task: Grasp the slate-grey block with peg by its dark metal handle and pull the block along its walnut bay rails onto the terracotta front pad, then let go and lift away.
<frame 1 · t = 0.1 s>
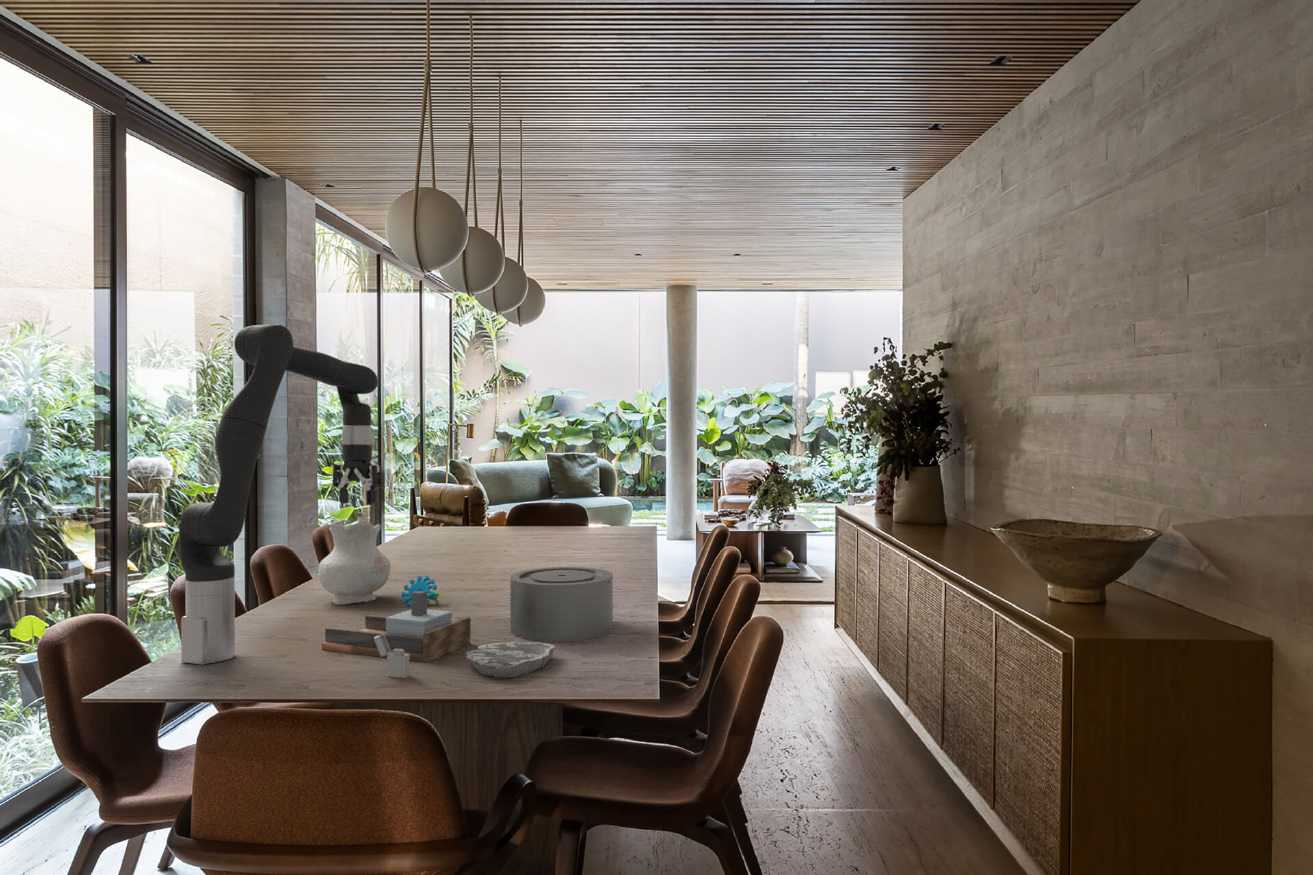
hand: (357, 503, 215), 29 cm above the table, fingers open, 8 cm apart
ceramic pitcher: (355, 599, 234), on the table
grey flat stone: (507, 668, 168), on the table
container: (561, 630, 199), on the table
block with peg: (419, 616, 181), point 7 cm above the table, slide at 0.0 cm
crate bay: (397, 646, 183), on the table
gear: (420, 605, 227), on the table
lighter: (391, 676, 161), on the table
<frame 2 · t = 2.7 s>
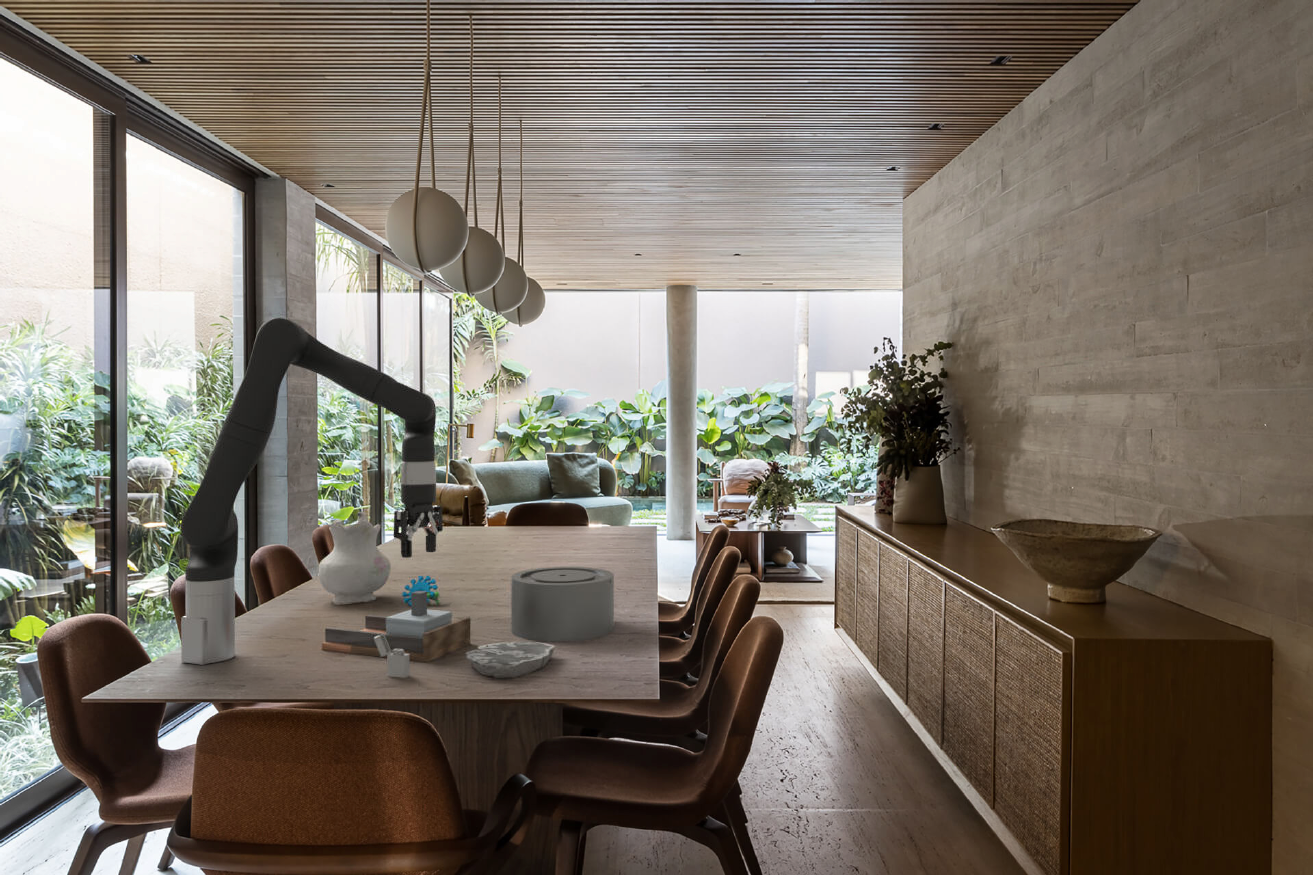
hand: (419, 554, 180), 21 cm above the table, fingers open, 8 cm apart
nothing on the table moved.
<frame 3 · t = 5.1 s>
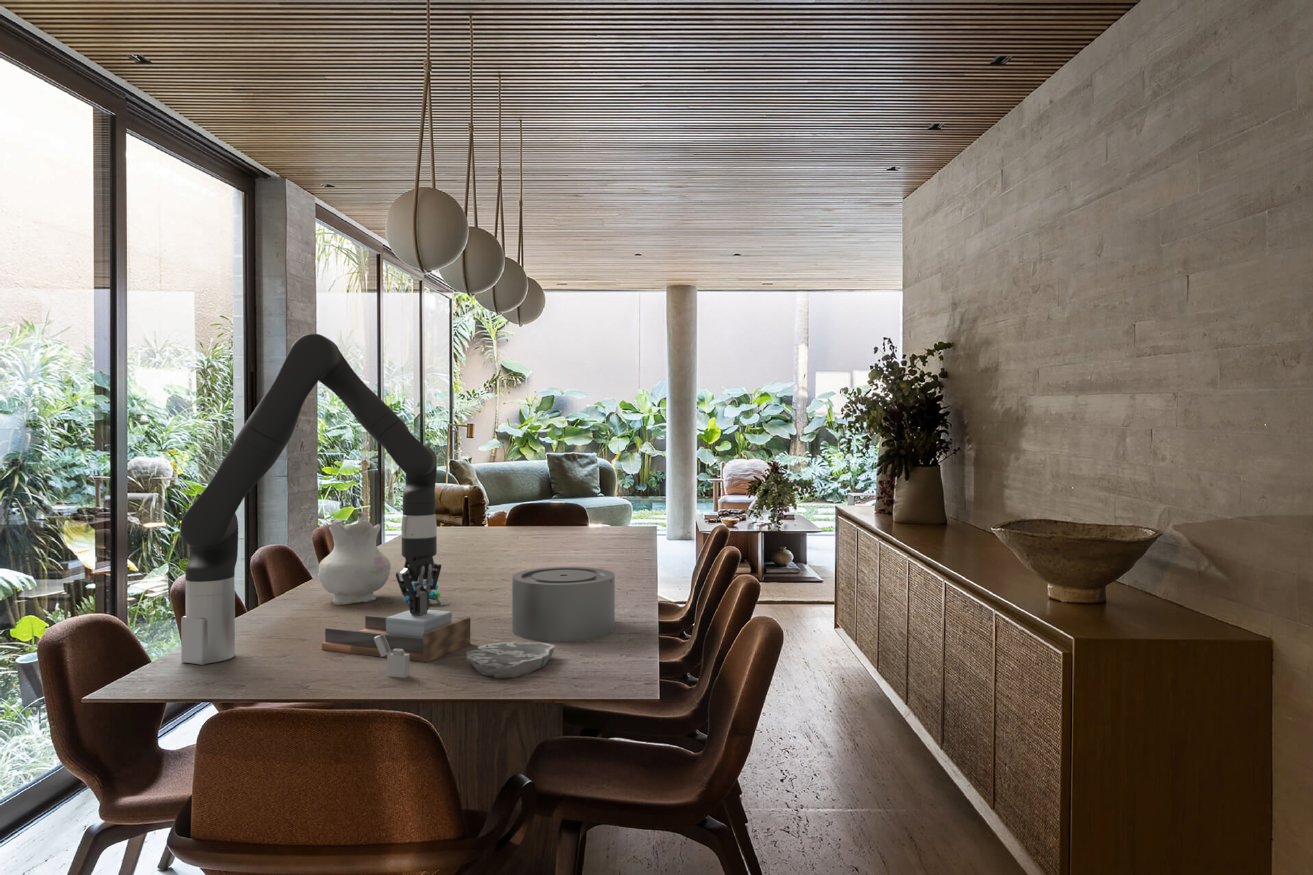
hand: (419, 611, 181), 8 cm above the table, fingers closed on block with peg, 2 cm apart
block with peg: (419, 616, 181), point 7 cm above the table, slide at 0.0 cm, touching gripper
everything else where it was.
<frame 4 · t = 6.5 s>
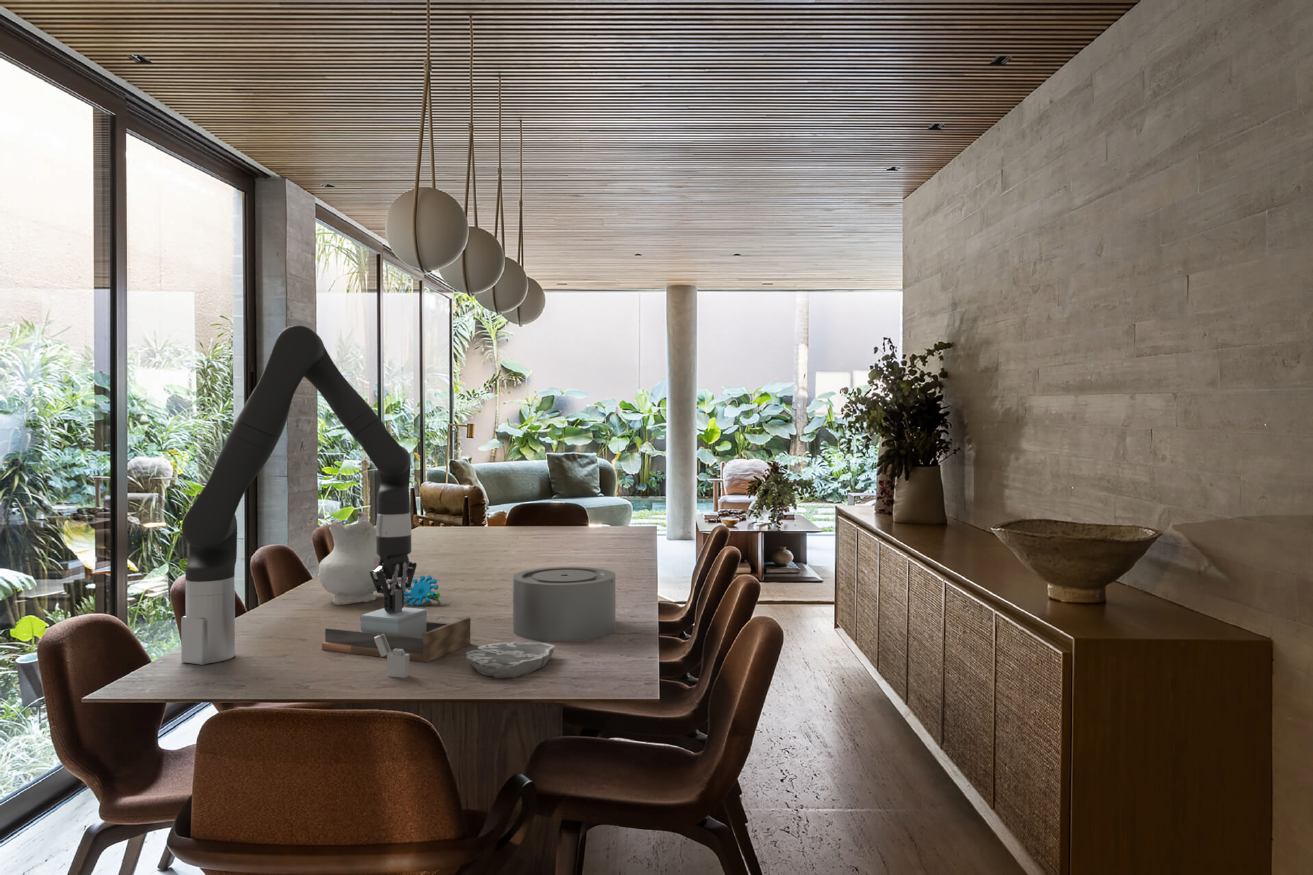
hand: (394, 609, 183), 8 cm above the table, fingers closed on block with peg, 2 cm apart
block with peg: (394, 614, 183), point 7 cm above the table, slide at 6.8 cm, touching gripper
everything else where it was.
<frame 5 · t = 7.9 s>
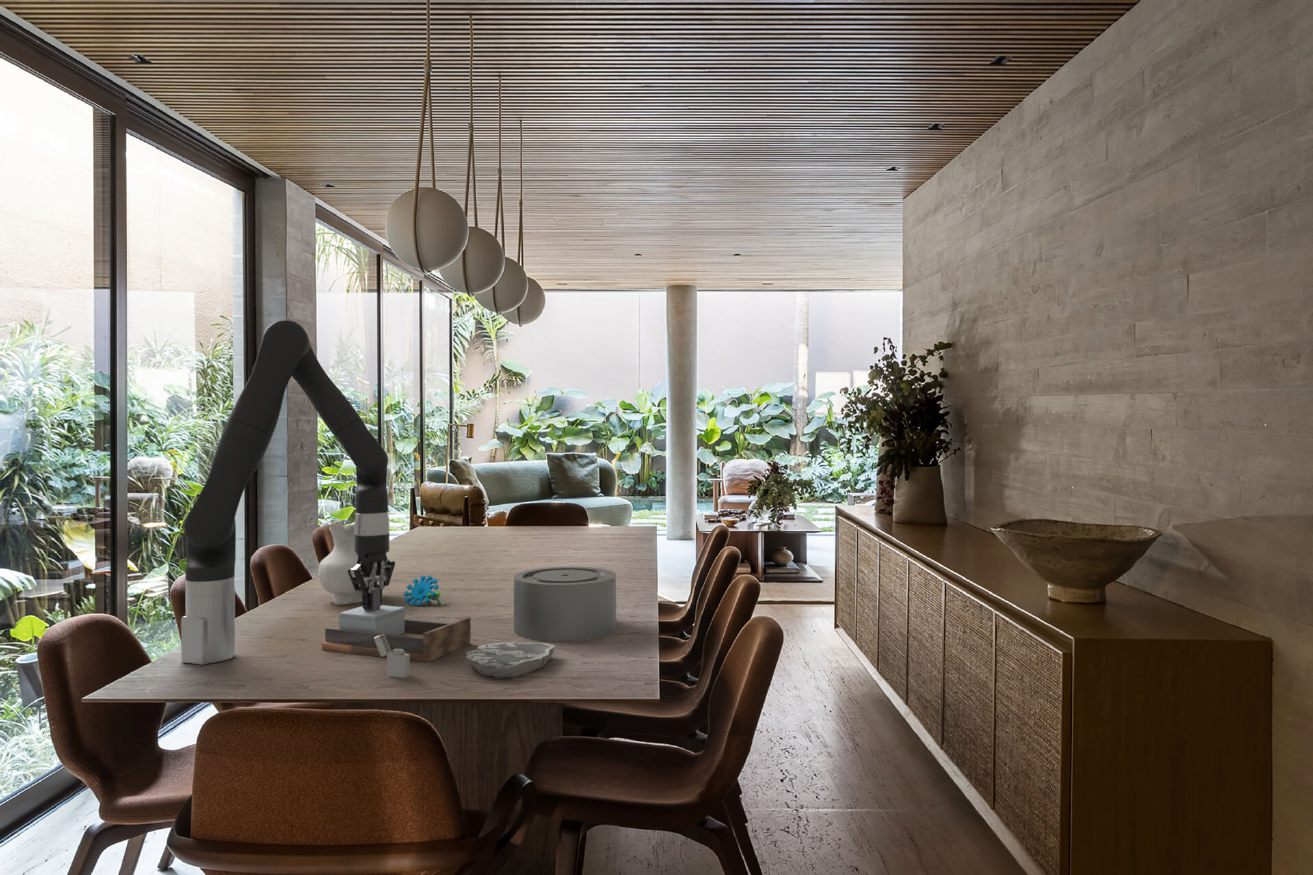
hand: (372, 607, 185), 8 cm above the table, fingers closed on block with peg, 2 cm apart
block with peg: (372, 612, 185), point 7 cm above the table, slide at 12.9 cm, touching gripper
everything else where it was.
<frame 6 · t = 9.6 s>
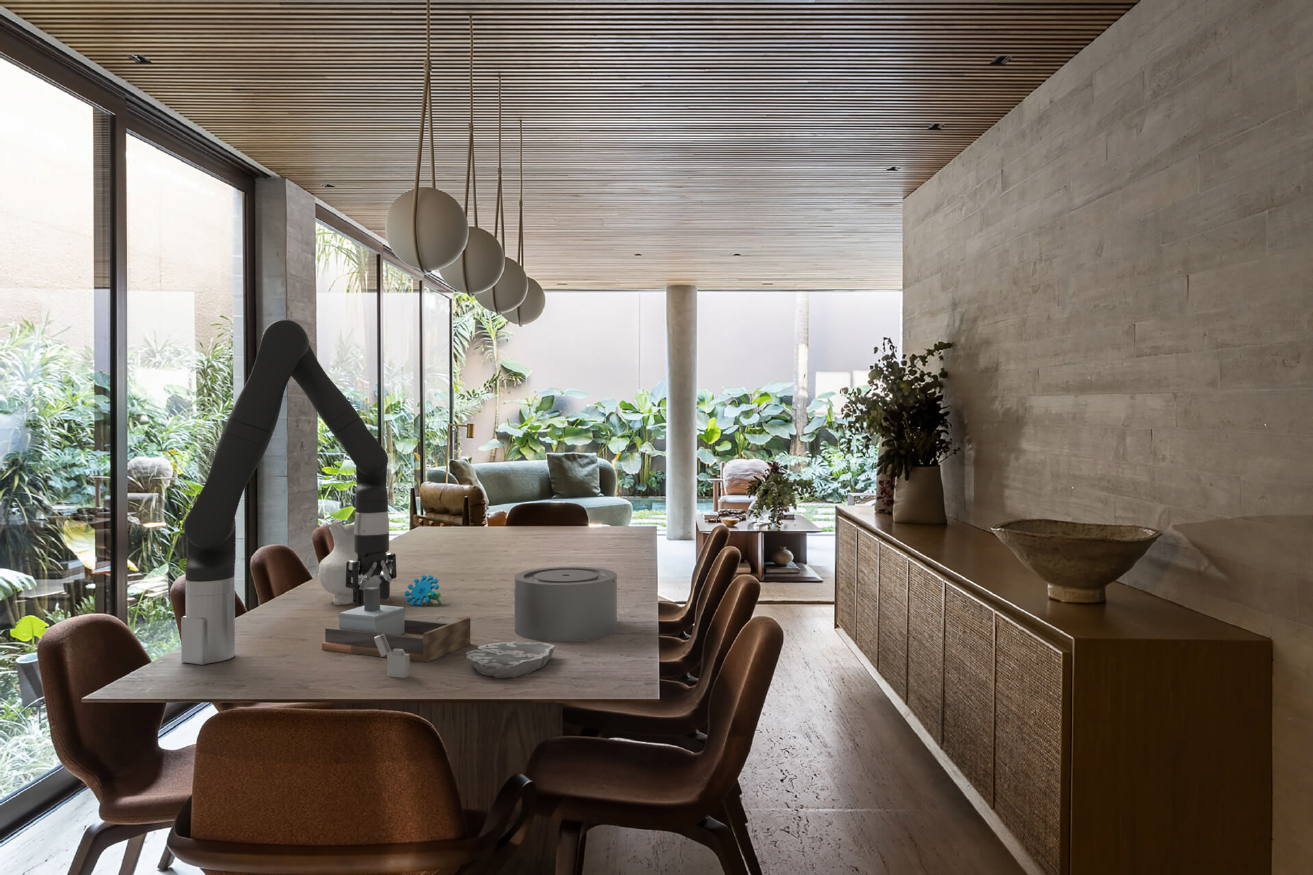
hand: (371, 602, 185), 9 cm above the table, fingers open, 8 cm apart
block with peg: (372, 612, 185), point 7 cm above the table, slide at 12.9 cm
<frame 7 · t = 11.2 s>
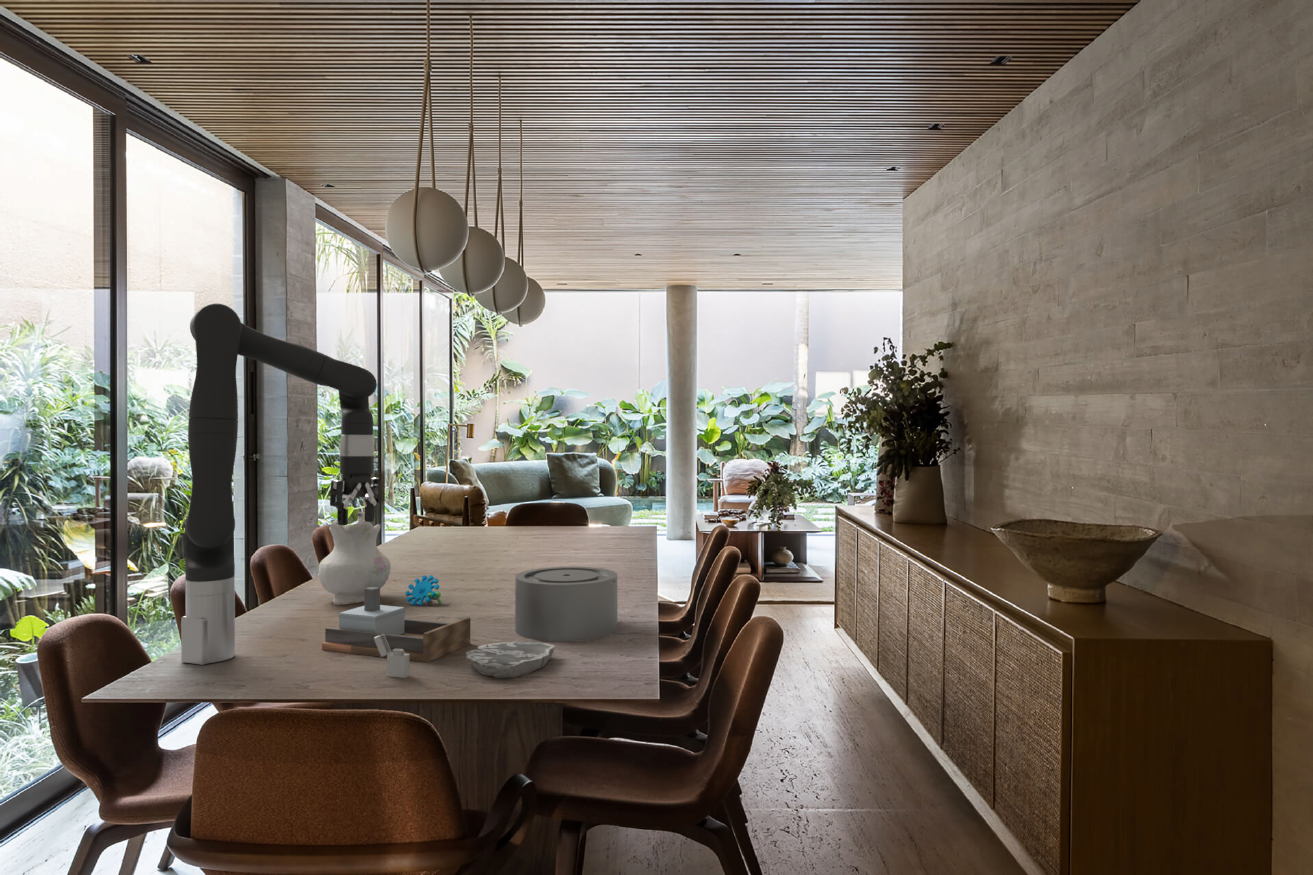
hand: (356, 523, 190), 27 cm above the table, fingers open, 8 cm apart
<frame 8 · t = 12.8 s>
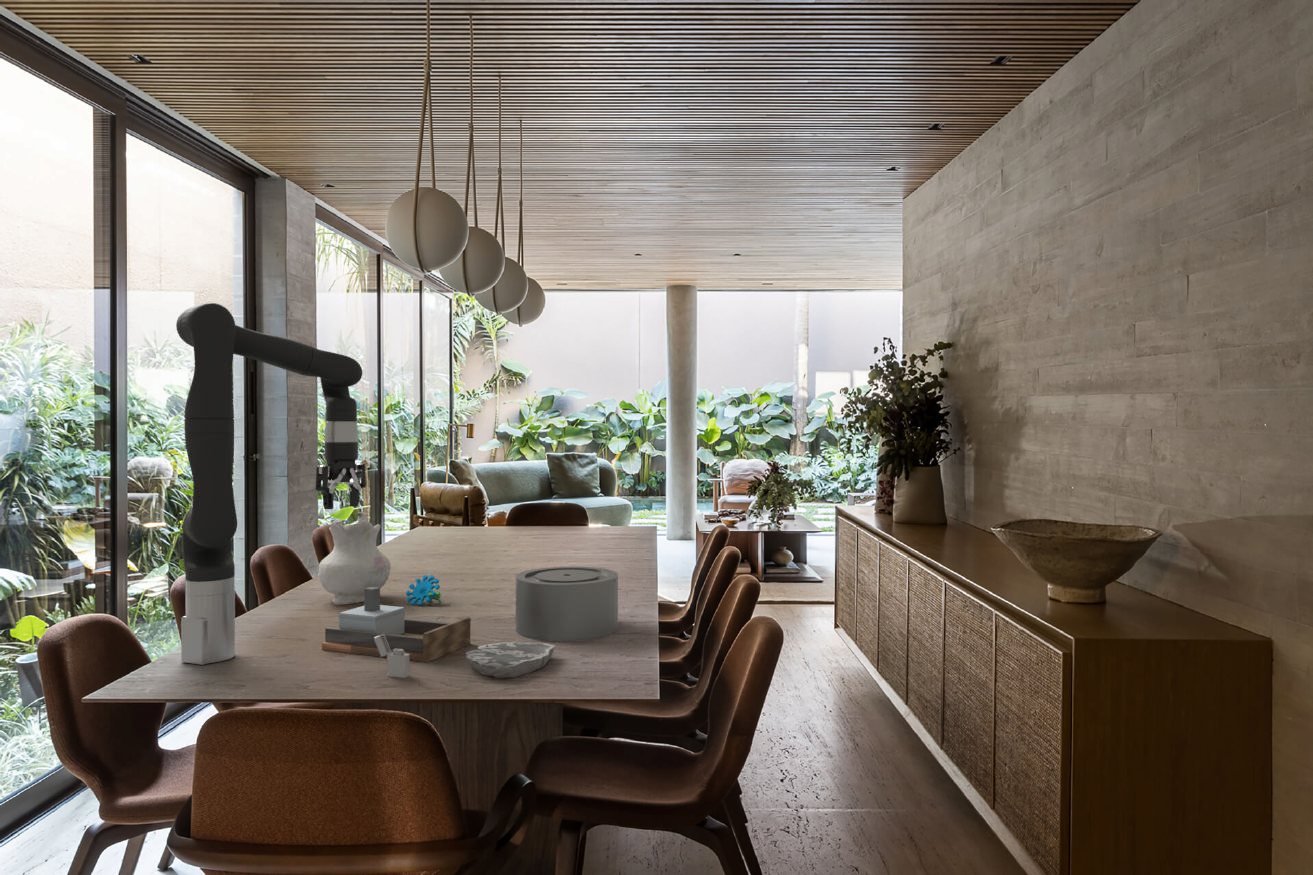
hand: (341, 507, 196), 30 cm above the table, fingers open, 8 cm apart
at the end: block with peg slide at 12.9 cm; the gripper is holding nothing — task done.
